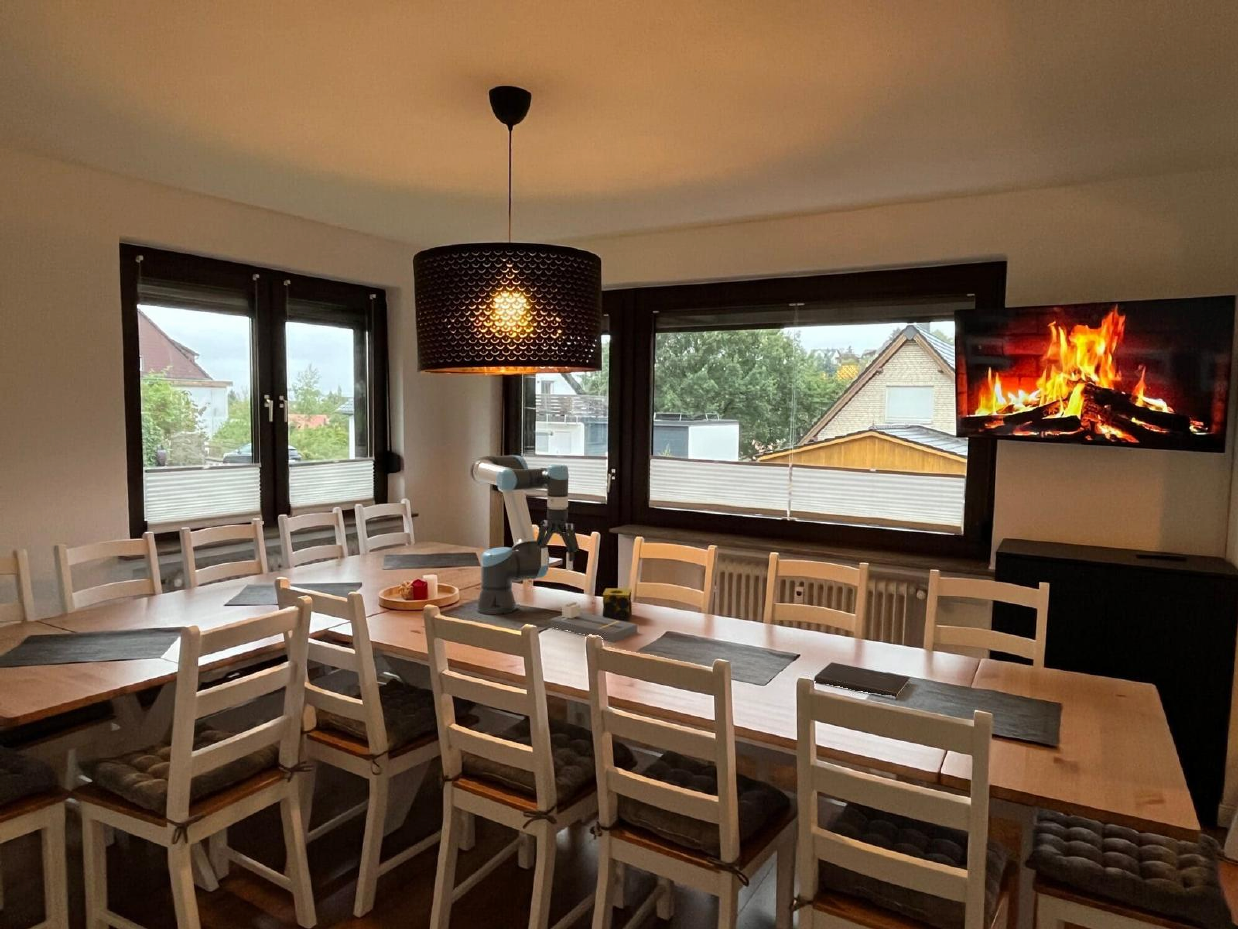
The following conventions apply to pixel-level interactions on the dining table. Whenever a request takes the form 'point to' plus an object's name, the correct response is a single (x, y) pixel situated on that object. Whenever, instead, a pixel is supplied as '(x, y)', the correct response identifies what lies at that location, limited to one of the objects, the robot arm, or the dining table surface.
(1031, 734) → the dining table surface
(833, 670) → the hardcover book
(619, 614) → the candle
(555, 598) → the dining table surface
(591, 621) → the fader board
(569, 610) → the fader tab
